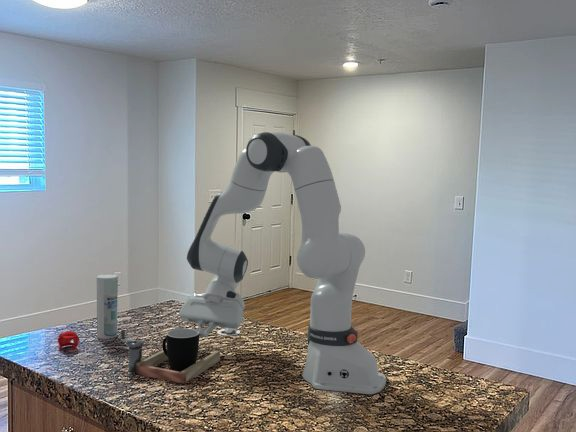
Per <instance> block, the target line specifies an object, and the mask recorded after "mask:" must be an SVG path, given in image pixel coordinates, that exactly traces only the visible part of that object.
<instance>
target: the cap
mask: <svg viewBox="0 0 576 432" xmlns="http://www.w3.org/2000/svg"><path fill="white" fill-rule="evenodd" d="M71 341H73V342H71ZM57 343H58V344H57V345H58V346H59V347H58V349H59V350H61V349H62V348H63V347H67V346H68V347H69V346H72V347H71V349H72V350H75V349H76V348H78V346H79V343H80V337H79V336H78V334H77V333H76V332H75V331H72V330H67V331H64V332H60V333H59V335H58V337H57Z"/></svg>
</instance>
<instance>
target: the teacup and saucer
mask: <svg viewBox="0 0 576 432" xmlns="http://www.w3.org/2000/svg"><path fill="white" fill-rule="evenodd" d="M223 331H224V332H225V333H222V332H223ZM233 332H235V333H233ZM216 333H217V335H221V336H225V337H226V336H227V337H229V336H230V337H231V336H237V335H239V334H241V331H240V330H239V329H238V328H237V329H233V328H226V327H224V328H221V329H219V330H217V331H216ZM231 333H233V334H231Z"/></svg>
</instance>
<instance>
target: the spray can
mask: <svg viewBox="0 0 576 432" xmlns="http://www.w3.org/2000/svg"><path fill="white" fill-rule="evenodd" d="M118 280H119V278H118V275H117V274H99V275H97V276H96V336H97V339H100V340H110V338H111V339H115V338H116V337H118V297H119V296H118V292H119V291H118V288H119V287H118V285H119V284H118V282H119V281H118ZM114 337H115V338H114Z"/></svg>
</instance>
